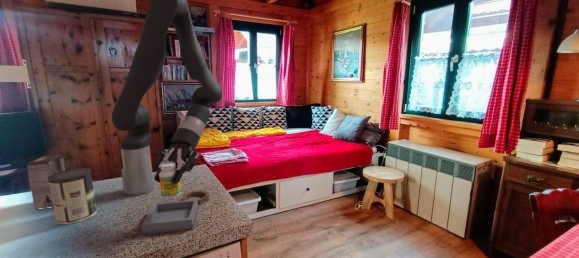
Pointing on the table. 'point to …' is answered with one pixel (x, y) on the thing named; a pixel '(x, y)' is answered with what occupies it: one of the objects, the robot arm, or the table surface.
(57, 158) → the coffee box
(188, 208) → the tray
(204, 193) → the holder ring
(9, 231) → the table surface
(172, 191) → the supplement bottle
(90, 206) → the coffee can
